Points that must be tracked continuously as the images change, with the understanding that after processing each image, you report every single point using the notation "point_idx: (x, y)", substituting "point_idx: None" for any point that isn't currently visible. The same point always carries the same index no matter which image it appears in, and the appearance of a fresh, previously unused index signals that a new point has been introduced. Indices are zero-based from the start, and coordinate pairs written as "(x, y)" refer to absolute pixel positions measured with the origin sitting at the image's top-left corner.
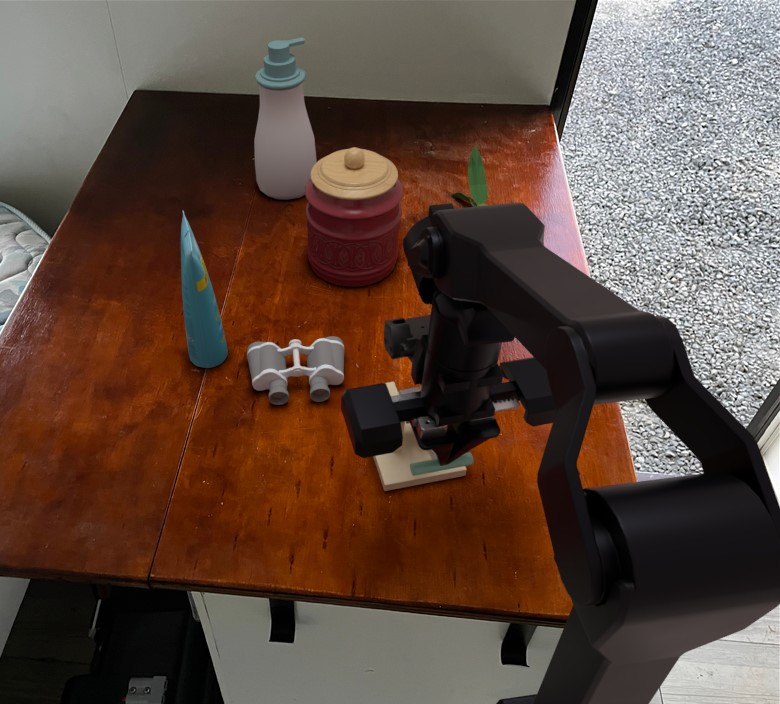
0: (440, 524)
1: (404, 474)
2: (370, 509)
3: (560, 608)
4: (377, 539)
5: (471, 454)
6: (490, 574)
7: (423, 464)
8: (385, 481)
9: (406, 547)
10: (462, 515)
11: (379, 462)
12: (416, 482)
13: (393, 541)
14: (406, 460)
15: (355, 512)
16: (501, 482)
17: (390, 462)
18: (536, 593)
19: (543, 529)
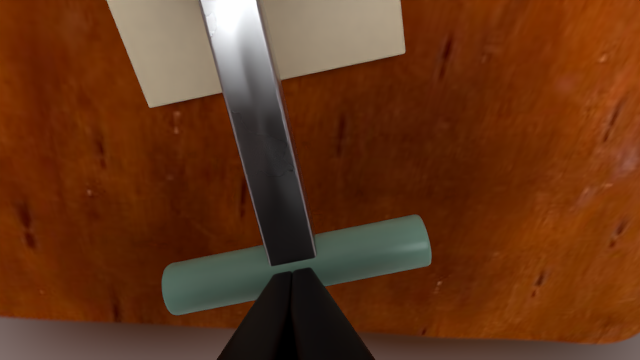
0: None
1: (208, 70)
2: (126, 152)
3: (492, 333)
4: (154, 226)
5: (429, 253)
6: (390, 287)
7: (214, 301)
8: (149, 94)
9: (223, 242)
10: (362, 167)
11: (120, 20)
12: None
13: (192, 230)
14: None
15: (87, 160)
16: (490, 72)
17: (159, 20)
18: (462, 314)
19: (535, 199)
